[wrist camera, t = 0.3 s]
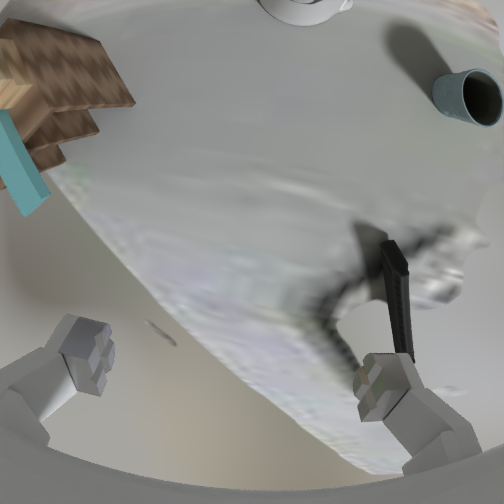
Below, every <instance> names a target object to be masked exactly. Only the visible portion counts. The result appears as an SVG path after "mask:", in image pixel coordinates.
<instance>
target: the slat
mask: <svg viewBox="0 0 504 504" xmlns="http://www.w3.org/2000/svg"><path fill="white" fill-rule="evenodd" d="M0 176H1V178H2V180H3V181H4V183H5V185H6V187H7V189H8V191H9V193H10V194H11V196H12V198H13V200H14V201H15V203H16V205H17V207H18V208H19V210H20V212H21V213H22V215H23V217H25V216H27V215H29V214H30V213H32V212H33V211H34V210H35V209H36V208H37V207H38V206H39V205H40V204H41V203H42V202H43V201H44V200H45V199H46V198H47V197H48V196H49V195H51V192H50V191H49V189H48V187H47V186H46V184H45V182H44V181H43V179H42V177H41V175H40V174H39V172H38V170H37V168H36V166H35V165H34V163H33V161H32V159H31V157H30V155H29V153H28V152H27V150H26V148H25V146H24V144H23V142H22V140H21V138H20V136H19V134H18V132H17V130H16V128H15V126H14V124H13V121H12V119H11V117H10V115H9V113H8V111H7V109H3V110H0Z"/></svg>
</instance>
